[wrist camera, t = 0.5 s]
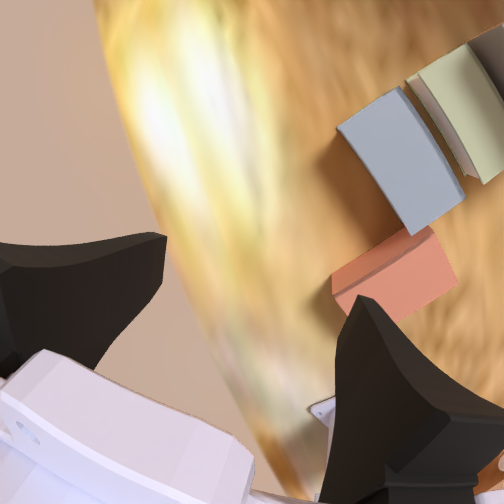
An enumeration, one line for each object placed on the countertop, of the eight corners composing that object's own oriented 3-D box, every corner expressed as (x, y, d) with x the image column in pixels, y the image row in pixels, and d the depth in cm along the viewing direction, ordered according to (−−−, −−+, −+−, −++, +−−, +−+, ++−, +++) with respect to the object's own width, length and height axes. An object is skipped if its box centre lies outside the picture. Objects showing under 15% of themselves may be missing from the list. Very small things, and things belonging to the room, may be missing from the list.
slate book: (447, 187, 17) (466, 197, 14) (399, 220, 19) (411, 236, 16) (387, 91, 16) (398, 85, 13) (336, 127, 17) (338, 127, 15)
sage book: (503, 145, 15) (526, 151, 12) (463, 175, 17) (483, 185, 14) (448, 52, 14) (466, 42, 11) (404, 80, 15) (418, 73, 13)
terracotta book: (419, 215, 18) (433, 231, 16) (444, 263, 19) (458, 283, 16) (331, 273, 21) (332, 295, 18) (361, 314, 22) (364, 339, 19)
